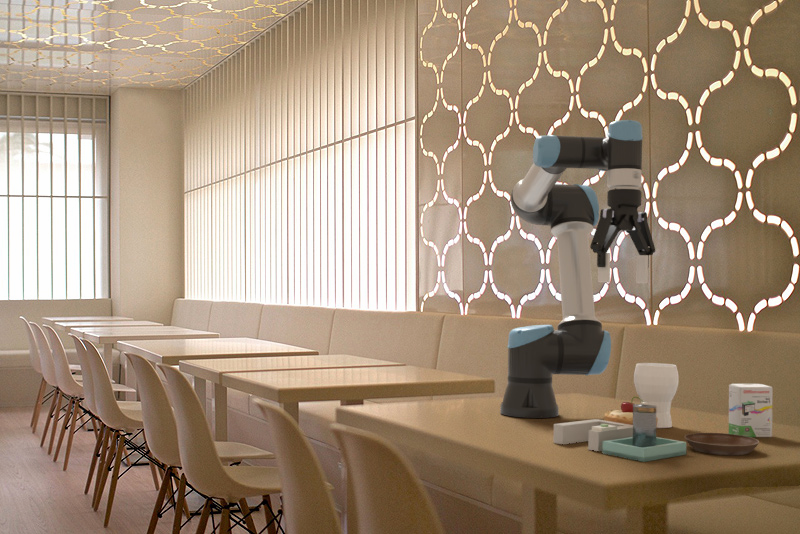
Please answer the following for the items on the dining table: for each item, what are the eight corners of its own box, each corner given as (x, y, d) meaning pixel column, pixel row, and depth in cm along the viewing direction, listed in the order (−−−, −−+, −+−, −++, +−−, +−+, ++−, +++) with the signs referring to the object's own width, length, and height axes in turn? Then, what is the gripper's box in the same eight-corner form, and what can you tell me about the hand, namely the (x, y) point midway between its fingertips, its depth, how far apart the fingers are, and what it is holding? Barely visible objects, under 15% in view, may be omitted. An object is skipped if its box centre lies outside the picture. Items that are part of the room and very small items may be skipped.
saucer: (719, 460, 178) (719, 446, 178) (669, 447, 191) (669, 434, 192) (775, 455, 184) (775, 442, 184) (722, 443, 197) (723, 431, 197)
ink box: (739, 437, 204) (740, 385, 204) (727, 434, 209) (728, 383, 209) (773, 437, 206) (773, 385, 206) (760, 433, 211) (761, 383, 211)
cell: (627, 449, 182) (628, 402, 182) (641, 447, 185) (642, 400, 185) (646, 453, 178) (647, 404, 178) (660, 450, 181) (661, 403, 181)
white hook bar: (553, 442, 193) (553, 418, 193) (595, 436, 201) (596, 414, 201) (598, 451, 183) (598, 426, 183) (640, 445, 192) (641, 421, 192)
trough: (602, 453, 181) (602, 441, 181) (645, 446, 189) (645, 435, 190) (643, 461, 173) (643, 448, 173) (686, 454, 182) (686, 442, 182)
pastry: (593, 434, 208) (593, 396, 209) (635, 430, 213) (634, 393, 213) (626, 441, 197) (625, 400, 198) (669, 437, 202) (668, 397, 202)
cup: (680, 430, 213) (681, 367, 214) (634, 428, 215) (635, 365, 216) (675, 423, 224) (676, 363, 224) (632, 421, 226) (632, 362, 226)
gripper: (602, 183, 192) (600, 282, 192) (671, 192, 208) (670, 284, 207) (575, 186, 198) (573, 281, 198) (644, 194, 214) (643, 283, 213)
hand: (623, 283), depth 203 cm, fingers open, 13 cm apart
